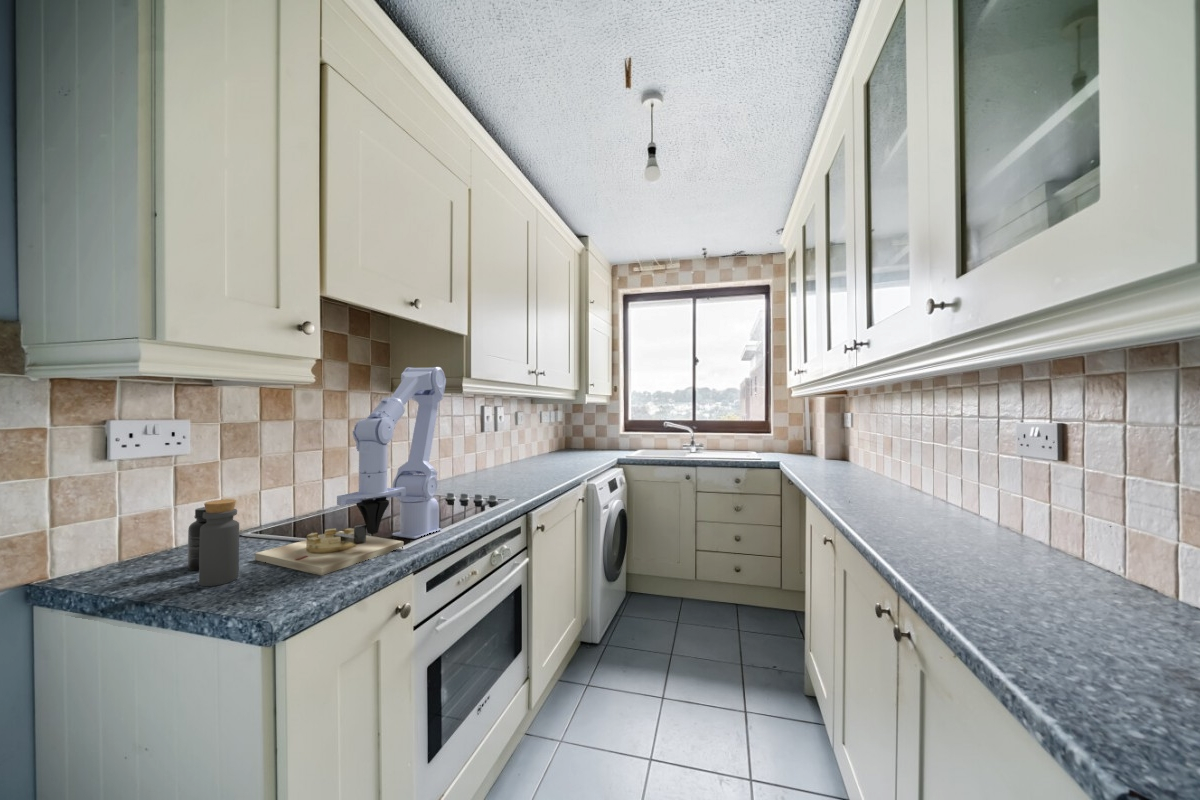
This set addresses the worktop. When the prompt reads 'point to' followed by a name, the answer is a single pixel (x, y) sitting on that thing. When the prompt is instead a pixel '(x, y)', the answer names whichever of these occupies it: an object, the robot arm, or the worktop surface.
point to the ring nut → (336, 540)
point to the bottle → (219, 544)
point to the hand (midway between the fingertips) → (372, 532)
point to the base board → (326, 555)
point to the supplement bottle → (195, 539)
